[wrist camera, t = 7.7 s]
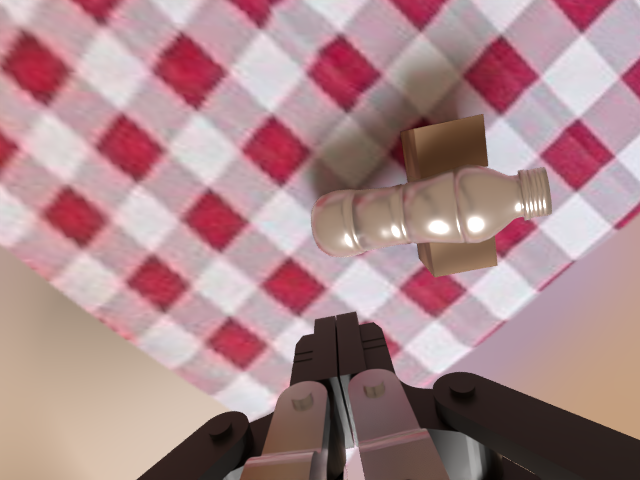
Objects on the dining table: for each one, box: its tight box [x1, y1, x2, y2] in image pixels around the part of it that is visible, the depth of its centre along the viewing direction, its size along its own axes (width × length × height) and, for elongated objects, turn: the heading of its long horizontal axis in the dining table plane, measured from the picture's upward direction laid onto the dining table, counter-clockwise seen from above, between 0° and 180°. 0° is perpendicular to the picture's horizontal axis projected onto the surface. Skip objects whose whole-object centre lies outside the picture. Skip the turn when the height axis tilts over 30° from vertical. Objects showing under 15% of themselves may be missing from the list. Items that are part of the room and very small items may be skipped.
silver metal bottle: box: [311, 165, 552, 257], centre depth 32 cm, size 6×7×20 cm
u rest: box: [400, 114, 497, 277], centre depth 36 cm, size 14×6×6 cm, turn 12°
